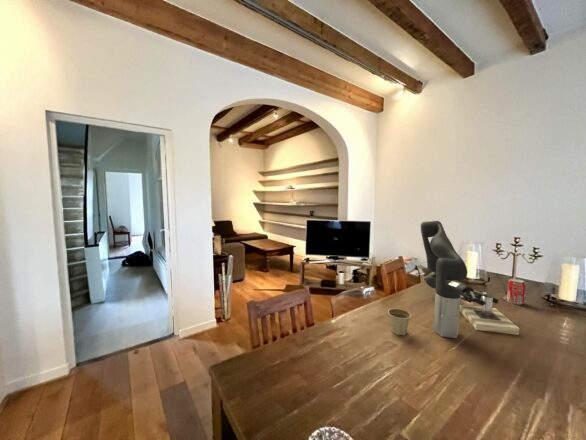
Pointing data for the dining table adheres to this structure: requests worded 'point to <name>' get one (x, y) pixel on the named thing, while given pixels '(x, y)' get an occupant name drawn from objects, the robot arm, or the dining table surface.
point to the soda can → (516, 291)
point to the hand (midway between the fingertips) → (491, 302)
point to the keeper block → (488, 320)
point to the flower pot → (399, 321)
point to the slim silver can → (487, 304)
